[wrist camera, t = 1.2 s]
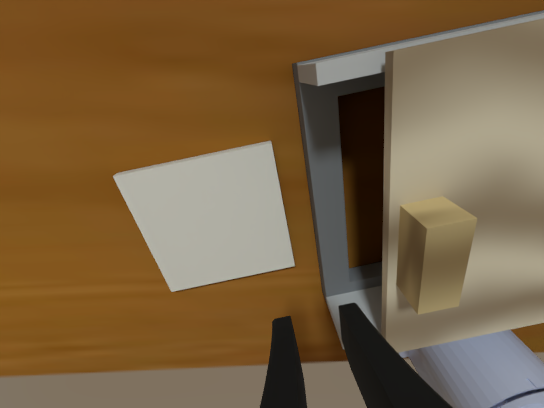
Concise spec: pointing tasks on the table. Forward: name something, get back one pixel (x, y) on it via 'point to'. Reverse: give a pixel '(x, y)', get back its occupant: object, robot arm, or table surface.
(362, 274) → the grey shallow open box
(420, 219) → the lid
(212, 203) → the tile
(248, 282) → the table surface
